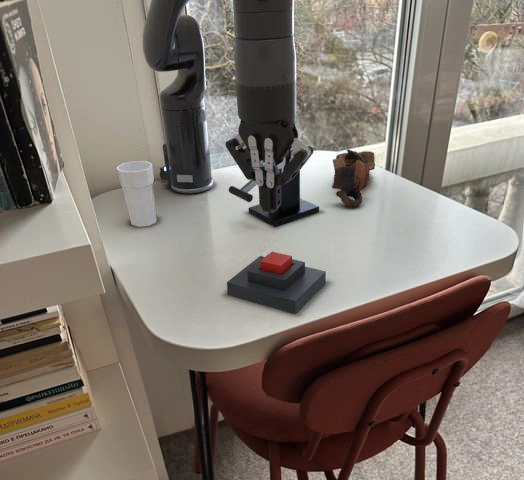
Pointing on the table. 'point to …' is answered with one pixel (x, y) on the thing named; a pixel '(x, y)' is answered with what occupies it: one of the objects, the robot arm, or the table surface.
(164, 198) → the table surface
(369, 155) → the brown curved piece
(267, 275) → the control block
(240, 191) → the lever
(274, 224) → the bracket
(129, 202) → the cup
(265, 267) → the stop button
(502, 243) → the table surface
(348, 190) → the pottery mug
